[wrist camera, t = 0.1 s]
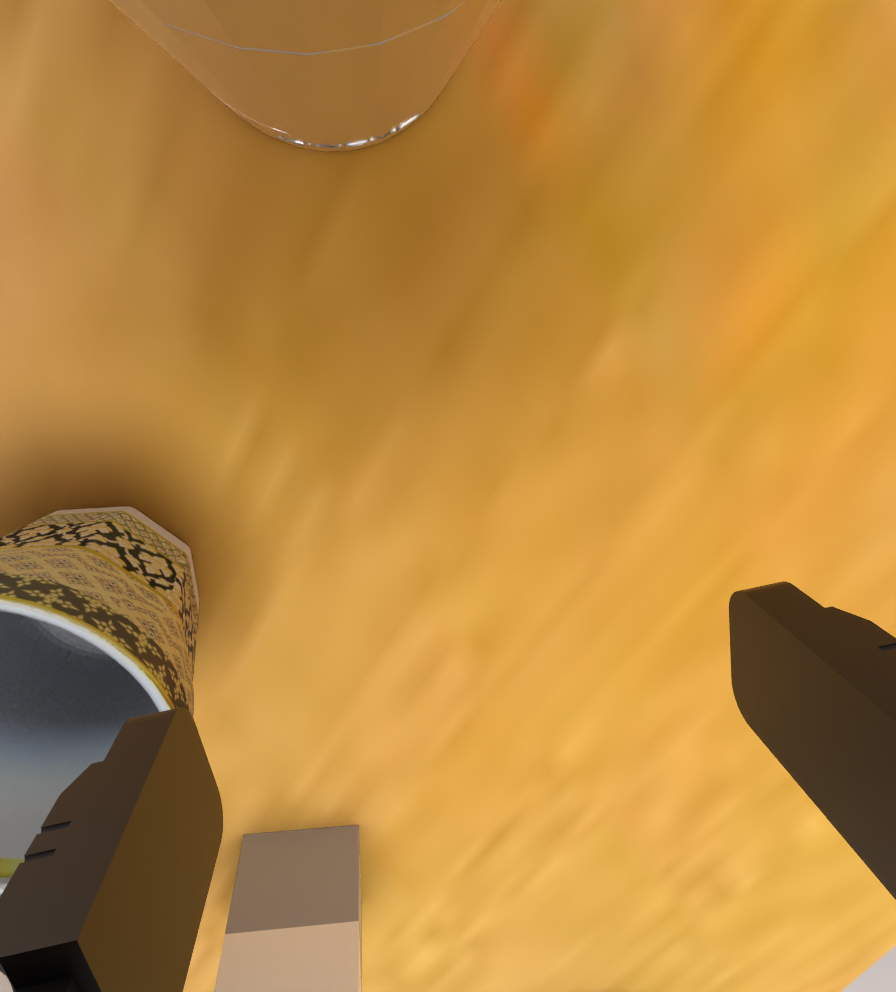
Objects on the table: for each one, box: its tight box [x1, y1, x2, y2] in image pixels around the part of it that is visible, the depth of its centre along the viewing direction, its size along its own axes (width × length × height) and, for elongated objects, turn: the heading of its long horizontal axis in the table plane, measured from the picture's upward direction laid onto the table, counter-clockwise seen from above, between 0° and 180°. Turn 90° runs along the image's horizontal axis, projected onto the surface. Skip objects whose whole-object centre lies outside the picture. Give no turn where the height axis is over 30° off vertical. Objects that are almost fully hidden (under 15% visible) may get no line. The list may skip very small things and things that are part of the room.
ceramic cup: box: [0, 506, 199, 895], centre depth 22 cm, size 13×10×10 cm
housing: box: [214, 825, 362, 992], centre depth 30 cm, size 6×6×10 cm
